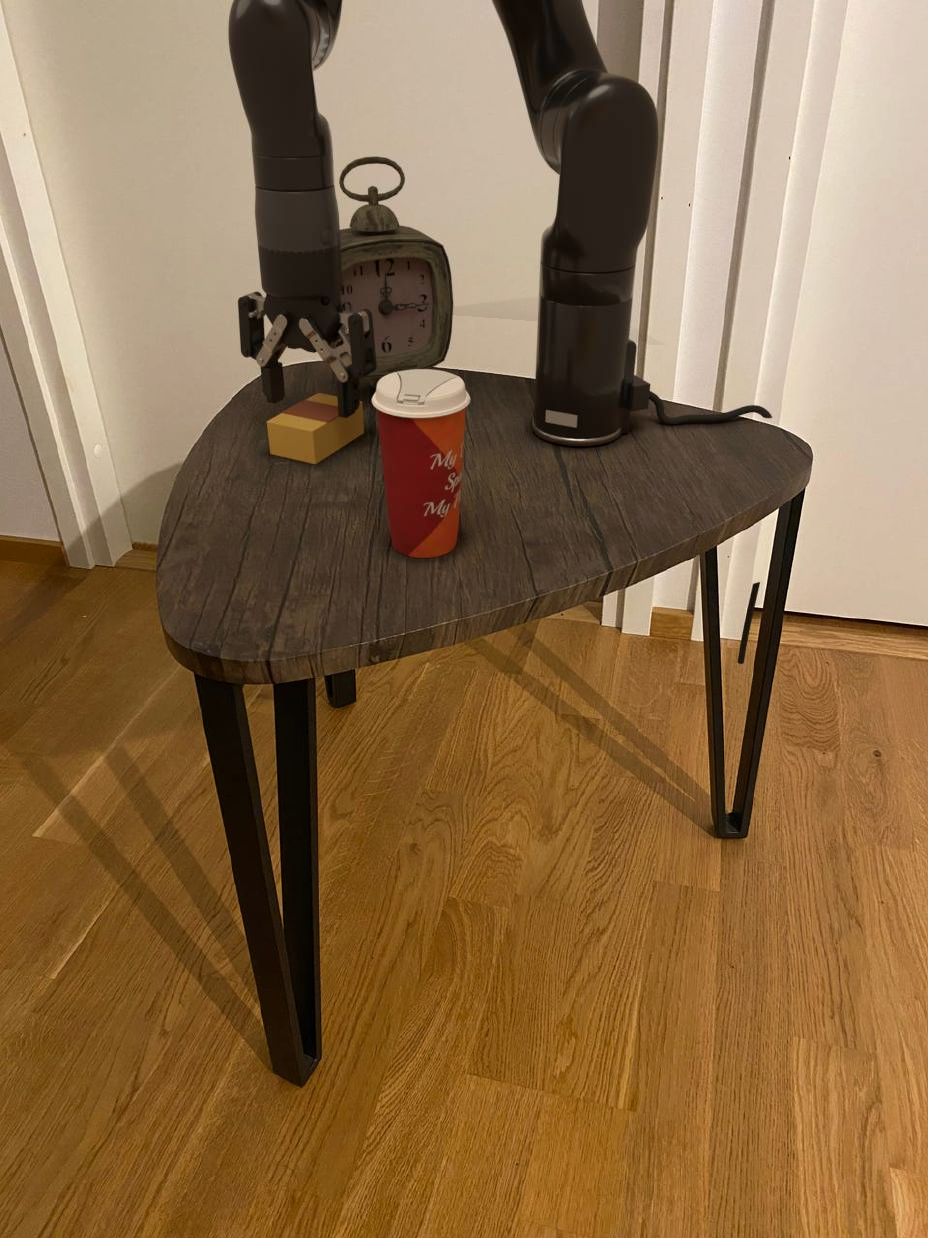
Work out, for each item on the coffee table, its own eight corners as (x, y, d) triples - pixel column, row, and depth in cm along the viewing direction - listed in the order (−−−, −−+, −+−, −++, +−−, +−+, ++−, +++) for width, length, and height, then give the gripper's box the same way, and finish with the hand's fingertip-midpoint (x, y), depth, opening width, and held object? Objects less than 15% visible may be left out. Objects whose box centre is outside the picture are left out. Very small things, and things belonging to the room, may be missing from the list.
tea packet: (320, 423, 105) (317, 391, 104) (364, 433, 103) (362, 400, 101) (269, 454, 99) (265, 420, 97) (315, 464, 97) (312, 430, 95)
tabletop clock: (330, 415, 107) (311, 167, 94) (310, 388, 115) (290, 153, 101) (454, 397, 112) (452, 158, 98) (427, 373, 119) (422, 146, 105)
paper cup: (459, 569, 80) (459, 404, 72) (368, 559, 81) (358, 396, 73) (477, 524, 86) (479, 369, 78) (393, 516, 87) (386, 362, 80)
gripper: (387, 239, 90) (391, 408, 99) (259, 222, 95) (274, 384, 104) (343, 255, 84) (351, 433, 93) (210, 237, 89) (230, 407, 98)
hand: (311, 407), depth 98 cm, fingers open, 8 cm apart
